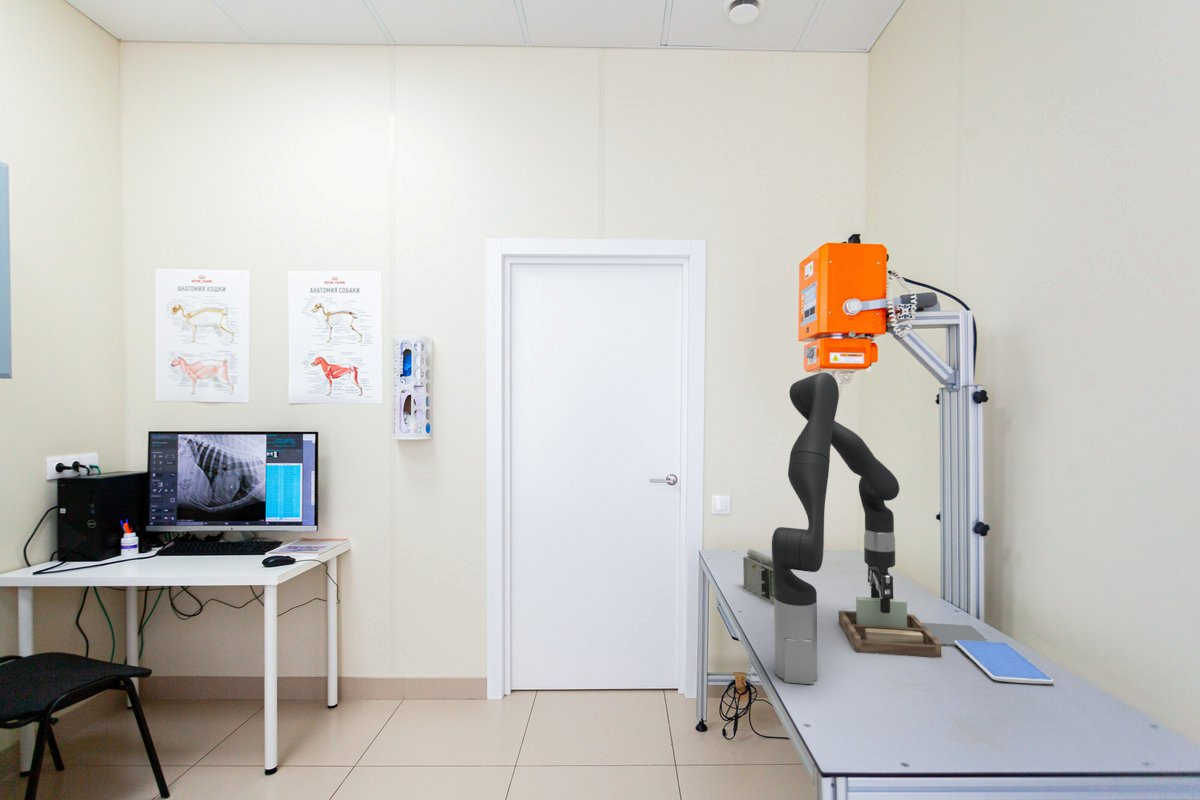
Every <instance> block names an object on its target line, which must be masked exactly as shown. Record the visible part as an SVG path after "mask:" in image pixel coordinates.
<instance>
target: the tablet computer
mask: <svg viewBox="0 0 1200 800" xmlns="http://www.w3.org/2000/svg"><path fill="white" fill-rule="evenodd" d="M954 643H955V644H956V645H957V646H958V647H957V648H960V650H961V651H963V652H964V653H965V655H967V656H968V657H969V658H970V659H971V661H973V662H974V663H976V665H977V666H978V667H980V668H981V670H983V672H984V673H986V675H988V677H989V678H991V680H994V681H997V682H1007V683H1019V684H1020V683H1022V684H1037V685H1038V684H1040V685H1043V684H1045V685H1046V684H1047V685H1048V684H1049V685H1051V684H1054V683H1055V681H1054V679H1053V677H1050V676H1049V675H1048V674H1047V673H1045V672H1044V671H1043V670H1041V669H1040V667H1038V666H1037V665H1036V664H1034V663H1033V662H1032V661H1030V660H1029V659H1028V658H1026V657H1025V656H1024V655H1023V654H1022V653H1020V652H1019V651H1018V650H1017V649H1016V648H1014V647H1013V646H1011V645H1010V644H1009V643H1007V642H1004V641H1003V642H1001V641H990V642H987V641H968V640H955V641H954Z"/></svg>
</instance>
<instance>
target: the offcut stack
mask: <svg viewBox="0 0 1200 800" xmlns="http://www.w3.org/2000/svg"><path fill="white" fill-rule="evenodd" d="M864 641H877V642H893V643H908V644H923V635H922V633H921V632H913V631H905V630H889V629H872V628H867V629H865V640H864Z"/></svg>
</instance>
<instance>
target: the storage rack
mask: <svg viewBox="0 0 1200 800" xmlns="http://www.w3.org/2000/svg"><path fill="white" fill-rule="evenodd" d="M922 623H923V622H921V621H920V620H919V619H918V617H916V616H915V615H914V614H911V613H909V614H908V613H907V627H890V626H873V625H856V610H854V611H853V610H852V611H851V610H838V625H839V626H840V628H841V629H842V631H843V632H844V634H845V636H846V638H847V640H848V641H849V644H851V646H852V648H853V649H854V651H855V652H856V653H861V652H863V653H865V654H876V653H878V655H879V654H880V655H891V654H893V655H894V656H906V655H908V656H907V657H910V656H911V657H923V658H924V657H925V658H935V657H941V658H942V646H941V643H940V642H939V641H938V640H937V638H936V637H935V636H934V635H933V634H932V633H931V632H930V631H929V630H928V629H927V628H926V627H925V626H924V625H923V624H922ZM867 628H872V629H889V630H905V631H913V632H921V633H922V635H923V644H908V643H893V642H877V641H865V629H867ZM863 653H862V654H863Z"/></svg>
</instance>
